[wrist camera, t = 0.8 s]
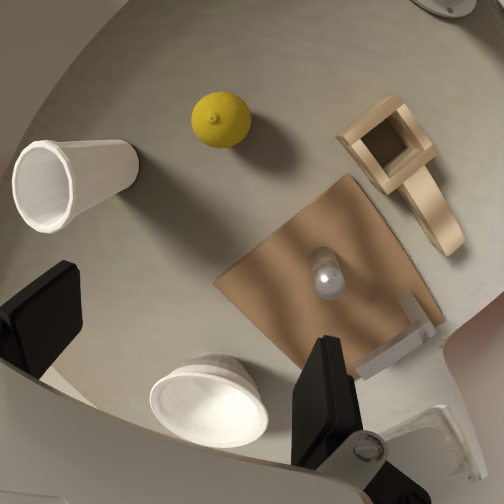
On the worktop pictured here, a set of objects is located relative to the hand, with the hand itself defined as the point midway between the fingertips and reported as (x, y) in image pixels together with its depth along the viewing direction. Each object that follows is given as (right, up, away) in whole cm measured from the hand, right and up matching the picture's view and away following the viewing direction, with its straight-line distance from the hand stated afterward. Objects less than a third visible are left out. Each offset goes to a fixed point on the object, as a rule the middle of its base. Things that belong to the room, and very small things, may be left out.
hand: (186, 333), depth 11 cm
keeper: (+19, -6, +26) cm, 33 cm away
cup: (-14, +13, +24) cm, 30 cm away
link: (+19, +11, +21) cm, 30 cm away
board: (+13, -3, +27) cm, 30 cm away
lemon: (0, +17, +21) cm, 27 cm away
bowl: (-3, -15, +34) cm, 37 cm away
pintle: (+10, +2, +24) cm, 26 cm away
